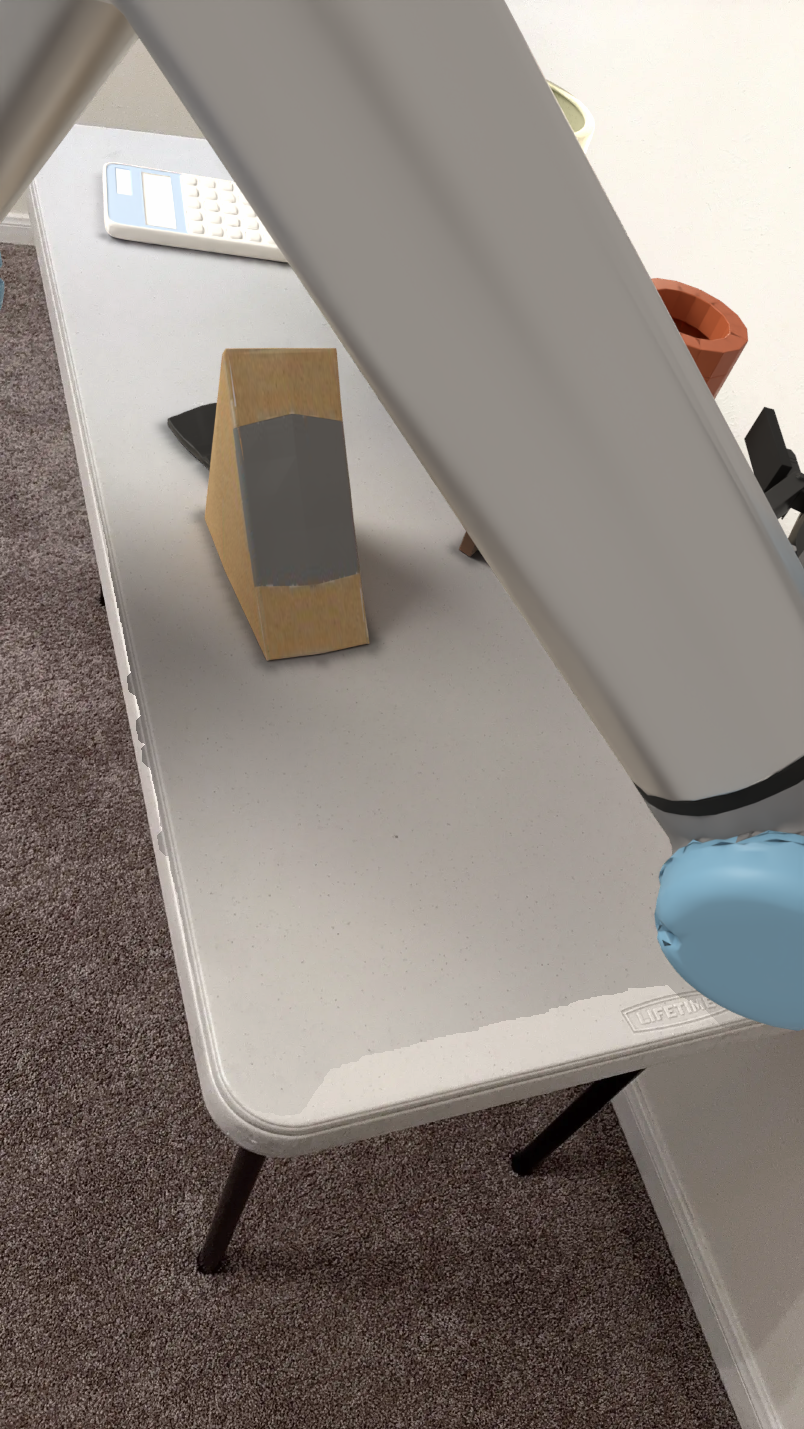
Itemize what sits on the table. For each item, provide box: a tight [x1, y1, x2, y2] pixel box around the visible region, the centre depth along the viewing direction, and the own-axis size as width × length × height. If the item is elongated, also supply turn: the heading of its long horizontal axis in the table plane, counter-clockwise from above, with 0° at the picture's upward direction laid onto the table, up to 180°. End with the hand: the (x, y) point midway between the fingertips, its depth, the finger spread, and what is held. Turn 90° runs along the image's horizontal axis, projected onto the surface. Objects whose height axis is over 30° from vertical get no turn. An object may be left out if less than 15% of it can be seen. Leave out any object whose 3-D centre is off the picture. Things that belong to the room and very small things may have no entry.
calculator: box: [102, 161, 288, 263], centre depth 104 cm, size 13×20×2 cm, turn 102°
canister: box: [651, 277, 749, 400], centre depth 72 cm, size 9×9×12 cm
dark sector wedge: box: [166, 402, 217, 472], centre depth 84 cm, size 8×14×2 cm, turn 129°
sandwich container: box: [204, 347, 370, 661], centre depth 69 cm, size 9×15×15 cm, turn 24°
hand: (668, 399), depth 68 cm, fingers open, 13 cm apart
